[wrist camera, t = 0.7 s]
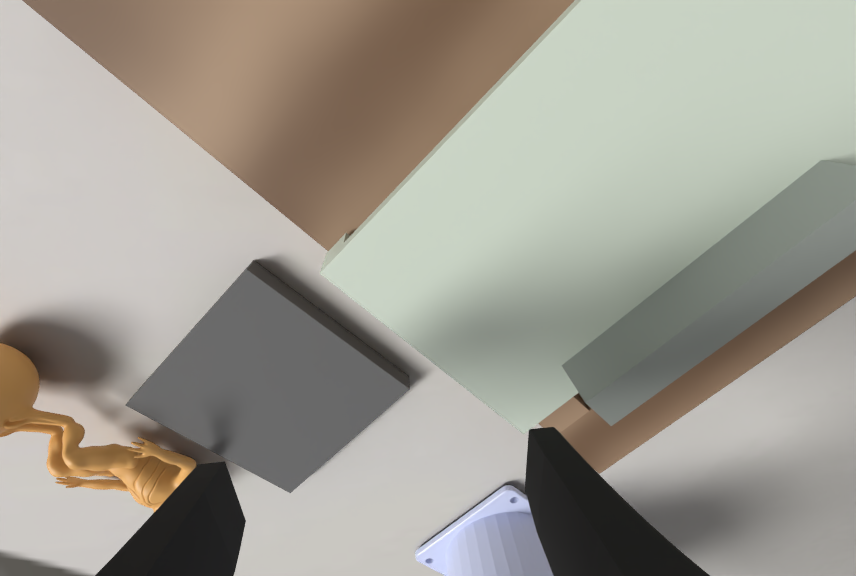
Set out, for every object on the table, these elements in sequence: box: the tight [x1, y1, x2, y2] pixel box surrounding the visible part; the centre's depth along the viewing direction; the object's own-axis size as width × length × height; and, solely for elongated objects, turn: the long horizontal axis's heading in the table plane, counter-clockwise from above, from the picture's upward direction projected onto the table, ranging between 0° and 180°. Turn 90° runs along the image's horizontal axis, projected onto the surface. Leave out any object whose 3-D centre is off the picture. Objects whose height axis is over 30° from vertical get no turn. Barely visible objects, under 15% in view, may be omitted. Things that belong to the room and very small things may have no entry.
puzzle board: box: [23, 0, 856, 474], centre depth 15 cm, size 28×16×3 cm, turn 45°
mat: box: [126, 260, 410, 493], centre depth 20 cm, size 9×9×1 cm
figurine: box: [0, 343, 196, 512], centre depth 18 cm, size 8×6×12 cm
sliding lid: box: [320, 0, 856, 434], centre depth 13 cm, size 10×16×4 cm, turn 135°
